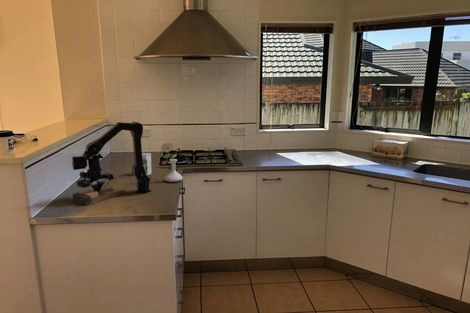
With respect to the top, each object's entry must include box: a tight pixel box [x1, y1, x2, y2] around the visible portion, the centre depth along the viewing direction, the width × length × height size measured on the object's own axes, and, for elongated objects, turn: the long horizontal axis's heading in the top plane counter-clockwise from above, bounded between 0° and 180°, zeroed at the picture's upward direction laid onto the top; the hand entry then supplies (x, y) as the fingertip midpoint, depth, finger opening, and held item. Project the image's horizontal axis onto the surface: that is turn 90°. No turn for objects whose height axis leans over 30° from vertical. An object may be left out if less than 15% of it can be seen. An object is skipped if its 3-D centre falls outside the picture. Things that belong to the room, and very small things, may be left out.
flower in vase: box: [160, 142, 183, 183], centre depth 222 cm, size 13×11×25 cm
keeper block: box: [80, 189, 100, 199], centre depth 185 cm, size 6×6×4 cm
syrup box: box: [142, 152, 152, 176], centre depth 238 cm, size 6×6×14 cm
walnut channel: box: [72, 186, 125, 206], centre depth 190 cm, size 11×24×4 cm, turn 147°
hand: (97, 195), depth 189 cm, fingers closed
